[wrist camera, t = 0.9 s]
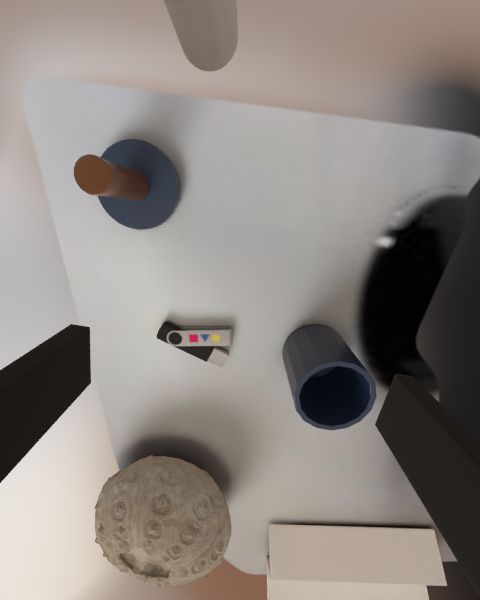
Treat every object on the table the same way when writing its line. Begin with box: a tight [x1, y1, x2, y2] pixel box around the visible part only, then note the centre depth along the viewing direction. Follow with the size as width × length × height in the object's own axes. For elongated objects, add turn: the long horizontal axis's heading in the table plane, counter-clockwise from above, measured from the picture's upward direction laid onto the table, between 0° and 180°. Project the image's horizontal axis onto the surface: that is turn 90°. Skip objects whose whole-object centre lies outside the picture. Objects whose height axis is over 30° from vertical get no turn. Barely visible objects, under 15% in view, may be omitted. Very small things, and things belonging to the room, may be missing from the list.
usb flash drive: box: [157, 322, 232, 367], centre depth 32 cm, size 9×5×1 cm, turn 62°
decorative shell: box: [95, 455, 231, 588], centre depth 35 cm, size 18×18×10 cm
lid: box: [74, 139, 179, 230], centre depth 23 cm, size 8×8×9 cm
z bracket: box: [267, 524, 447, 600], centre depth 41 cm, size 12×25×6 cm
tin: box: [283, 324, 376, 430], centre depth 29 cm, size 7×7×8 cm
